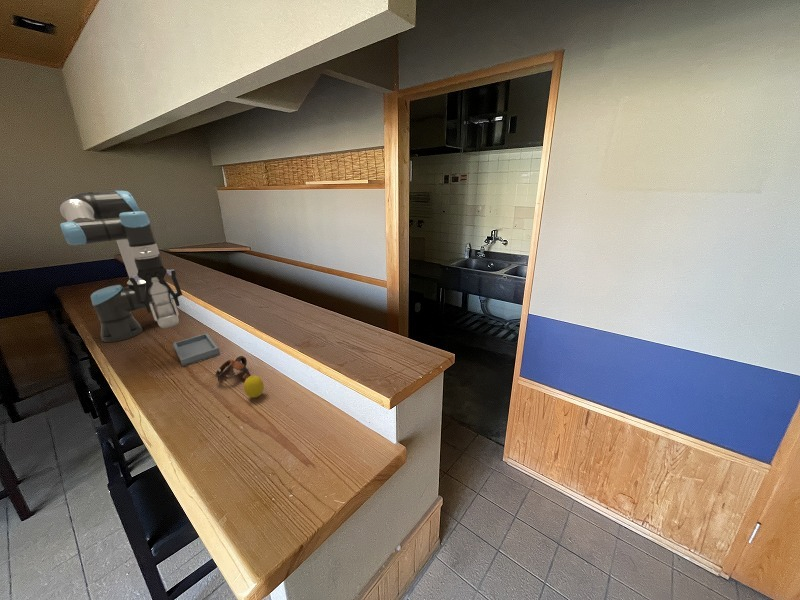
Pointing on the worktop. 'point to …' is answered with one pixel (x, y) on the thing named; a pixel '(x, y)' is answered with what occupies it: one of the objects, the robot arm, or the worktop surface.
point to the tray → (196, 349)
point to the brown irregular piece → (231, 365)
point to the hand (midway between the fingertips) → (166, 316)
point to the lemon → (253, 386)
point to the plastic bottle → (162, 304)
